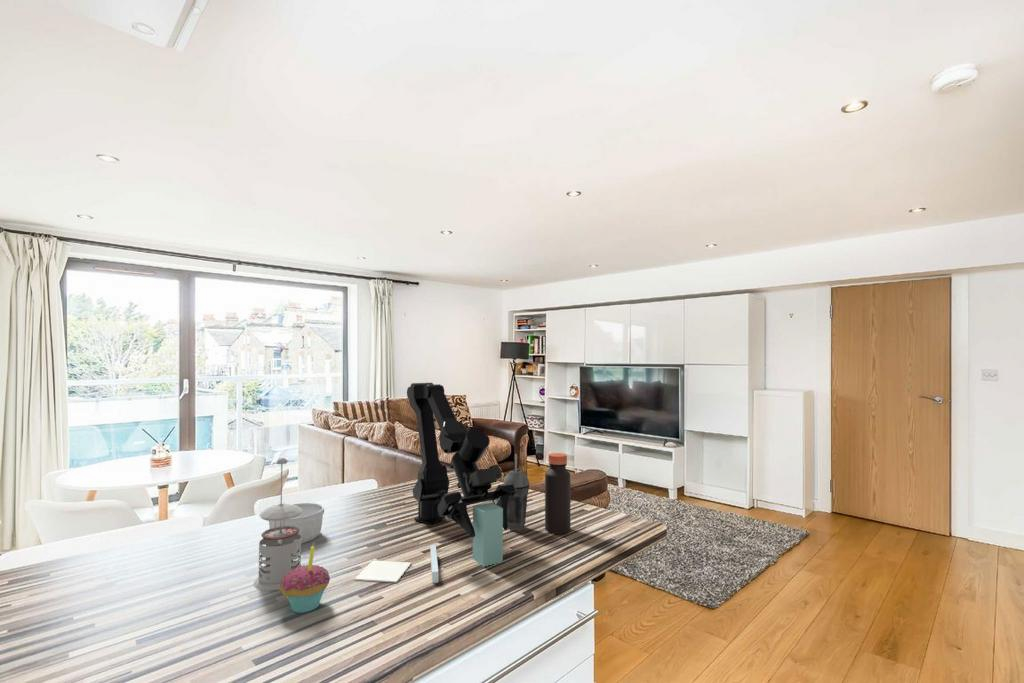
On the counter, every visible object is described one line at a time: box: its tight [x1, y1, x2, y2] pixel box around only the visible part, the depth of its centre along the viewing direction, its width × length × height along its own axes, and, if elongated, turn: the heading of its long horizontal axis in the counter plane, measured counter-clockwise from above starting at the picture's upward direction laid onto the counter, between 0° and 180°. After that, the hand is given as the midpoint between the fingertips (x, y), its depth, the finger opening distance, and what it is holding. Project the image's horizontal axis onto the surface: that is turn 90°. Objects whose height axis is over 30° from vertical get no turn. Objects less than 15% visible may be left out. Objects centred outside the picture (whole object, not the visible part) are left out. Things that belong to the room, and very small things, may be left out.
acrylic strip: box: [429, 545, 439, 584], centre depth 105 cm, size 14×1×2 cm, turn 11°
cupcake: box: [279, 542, 331, 614], centre depth 89 cm, size 9×8×12 cm
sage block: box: [472, 502, 504, 568], centre depth 109 cm, size 5×5×12 cm
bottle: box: [544, 452, 572, 535], centre depth 129 cm, size 7×7×20 cm
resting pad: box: [354, 560, 412, 584], centre depth 103 cm, size 9×9×1 cm
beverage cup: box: [503, 453, 531, 532], centre depth 130 cm, size 7×7×20 cm
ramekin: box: [268, 502, 325, 546], centre depth 123 cm, size 13×13×7 cm
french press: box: [252, 457, 302, 592], centre depth 101 cm, size 10×12×25 cm
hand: (490, 532), depth 108 cm, fingers open, 8 cm apart
